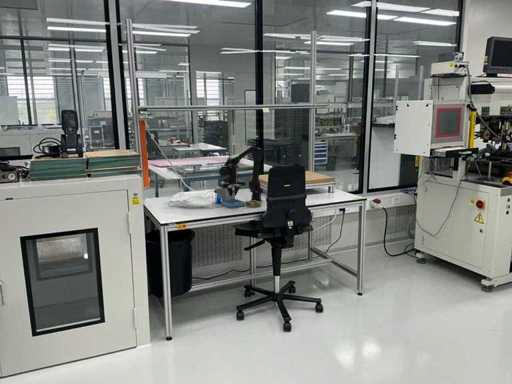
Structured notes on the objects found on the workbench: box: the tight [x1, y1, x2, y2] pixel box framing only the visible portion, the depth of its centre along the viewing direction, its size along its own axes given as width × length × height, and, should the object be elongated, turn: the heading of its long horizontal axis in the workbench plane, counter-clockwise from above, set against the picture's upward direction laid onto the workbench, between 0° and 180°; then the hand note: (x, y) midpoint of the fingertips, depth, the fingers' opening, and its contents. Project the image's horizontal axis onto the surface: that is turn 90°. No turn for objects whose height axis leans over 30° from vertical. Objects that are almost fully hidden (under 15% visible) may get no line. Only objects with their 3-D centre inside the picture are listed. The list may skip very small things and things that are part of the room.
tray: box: [220, 198, 245, 209], centre depth 302 cm, size 13×11×3 cm
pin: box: [231, 188, 236, 204], centre depth 301 cm, size 4×4×11 cm
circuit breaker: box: [213, 181, 234, 201], centre depth 312 cm, size 8×14×15 cm, turn 104°
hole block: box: [244, 200, 262, 209], centre depth 301 cm, size 8×8×3 cm
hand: (232, 196), depth 301 cm, fingers open, 4 cm apart
